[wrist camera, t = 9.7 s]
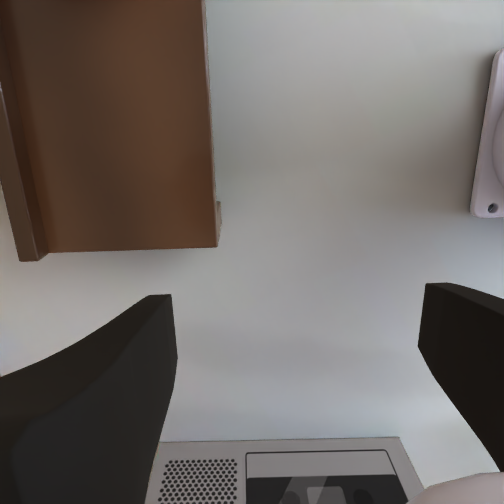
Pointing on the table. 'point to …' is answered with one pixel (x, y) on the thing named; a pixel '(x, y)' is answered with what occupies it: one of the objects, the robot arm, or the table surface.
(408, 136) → the table surface
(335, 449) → the cassette player
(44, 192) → the shelf
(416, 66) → the table surface
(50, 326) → the table surface
